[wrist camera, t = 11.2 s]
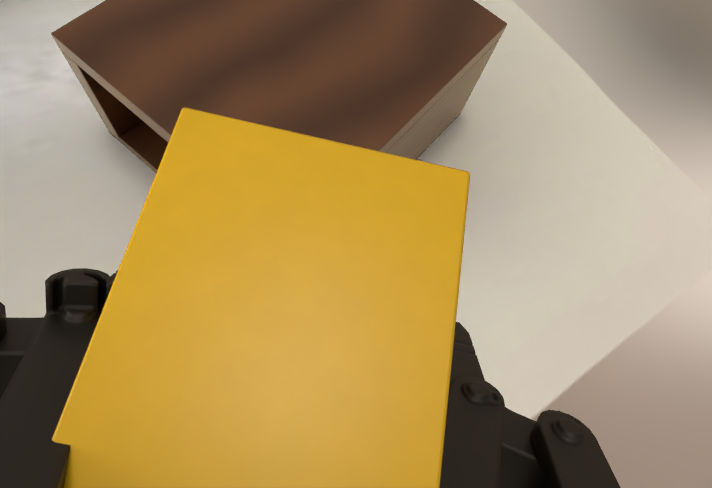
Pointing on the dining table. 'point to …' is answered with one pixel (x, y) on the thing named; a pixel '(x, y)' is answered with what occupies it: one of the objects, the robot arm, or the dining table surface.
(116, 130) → the shelf
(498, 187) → the dining table surface
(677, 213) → the dining table surface
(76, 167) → the dining table surface
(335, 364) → the yellow rectangular block
